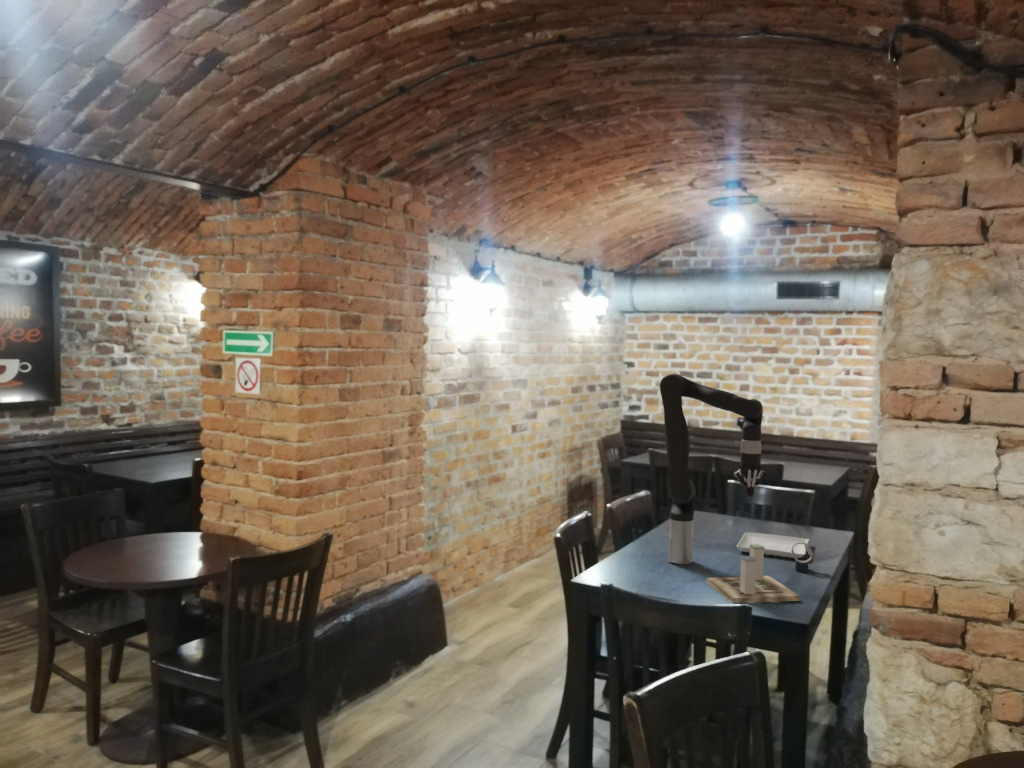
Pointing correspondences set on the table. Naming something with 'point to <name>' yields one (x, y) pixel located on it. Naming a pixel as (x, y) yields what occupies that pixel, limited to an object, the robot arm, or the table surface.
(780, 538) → the square plate
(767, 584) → the switch board
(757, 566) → the tall beige block
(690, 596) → the table surface
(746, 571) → the near switch
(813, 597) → the table surface
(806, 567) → the watch
